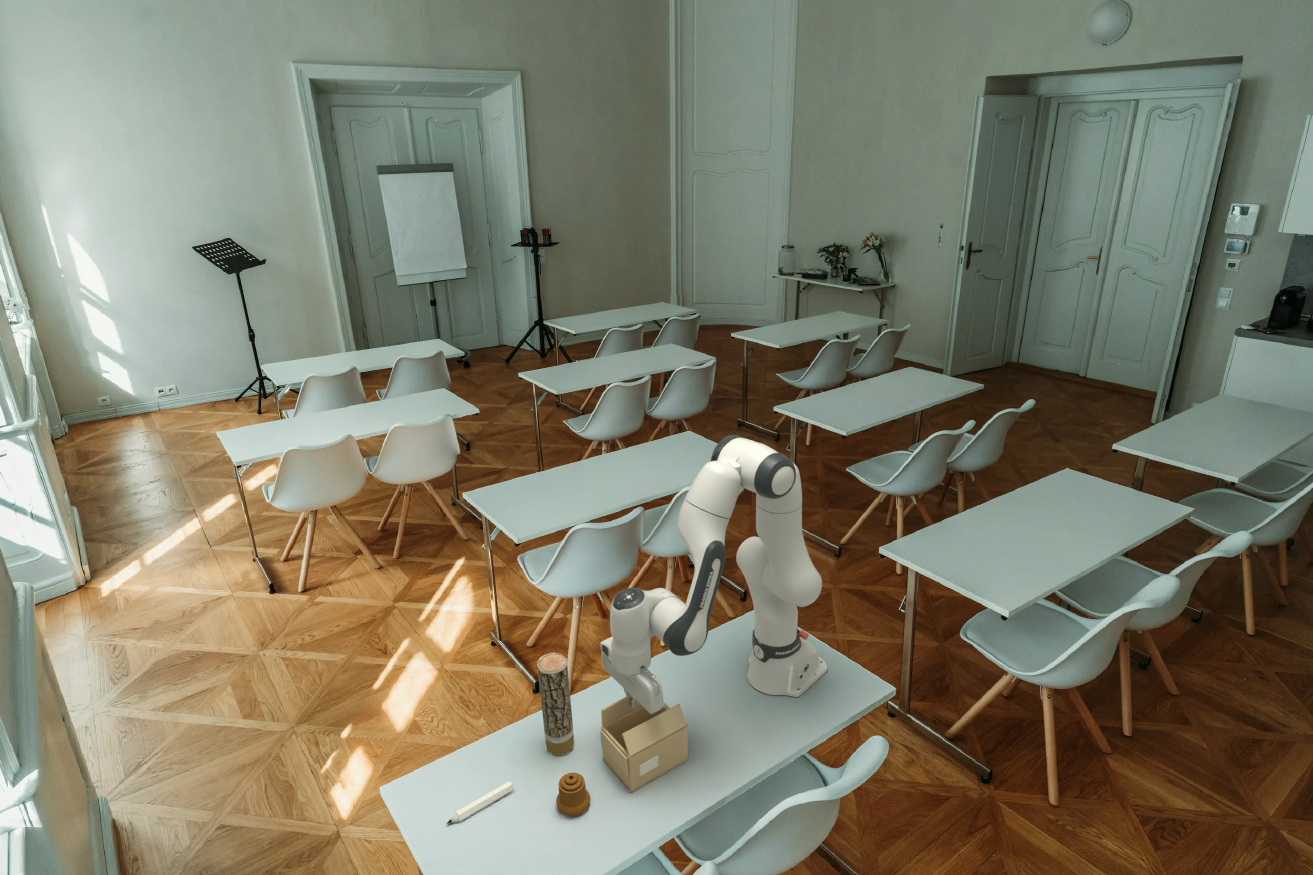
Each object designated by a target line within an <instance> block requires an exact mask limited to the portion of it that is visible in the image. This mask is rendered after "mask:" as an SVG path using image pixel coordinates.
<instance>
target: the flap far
mask: <svg viewBox="0 0 1313 875" xmlns="http://www.w3.org/2000/svg"><path fill="white" fill-rule="evenodd" d="M640 707H642V705H639V707H637V708H635V709H634V708H632V706H631V705H630V704H628V703H627V696H625V697H622V698H621V699H619V700H617V701H615V702H612V703H611V704H609V705H607V706H605V707H603V708H601V710H600V712H601V727H602V726H605V725H607V724H609V723H611V722H613V721H615V720H617V719H619V718H621V717H623V716H625V715H627V714H629V713H630V712H632V711H634V710H636V709H638V708H640Z"/></svg>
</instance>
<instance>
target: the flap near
mask: <svg viewBox="0 0 1313 875" xmlns="http://www.w3.org/2000/svg"><path fill="white" fill-rule="evenodd" d="M686 723H687V722H686V719H685V717H684V714H683V710H682V707H681V704H680V703H677V704H676V705H674V706H671V707H670V709H668V710H666V711H664V712H663V713H661V714H659V715H657V716H655V717H653V718H651V719H649V720H647V721H646V722H644V723H642V724H640V725H638V726H636V727H634V728H632V729H630V730H629V731H627V732H625V733H623V734H622V736H623V739H624V742H625V745H626V748H627V751H628V754H629V756H632V755H633V754H635V753H637V752H639V751H641V750H642V749H644V748H646V747H648V746H650V745H651V744H653V743H655V742H657V741H659V740H661V739H662V738H664V737H666V736H668V735H670V734H671V733H673V732H675V731H677V730H679V729H680V728H682V727H684V726H686Z"/></svg>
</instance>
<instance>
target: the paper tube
mask: <svg viewBox="0 0 1313 875" xmlns="http://www.w3.org/2000/svg"><path fill="white" fill-rule="evenodd" d="M536 664H537V674H538V682H539V683H538V684H539V692H540V701H541V702H540V703H541V704H540V705H541V712H542V721H543V729H544V739H545V747H546V750H547V751H548V752H549V753H550V754H552V755H553V756H554V755H555V756H563V755H566V754H568V753H570V752H571V751H572V750H573V748H574V746H575V734H574V725H573V711H572V703H571V702H572V701H571V689H570V688H571V687H570V678H569V668H568V667H569V666H568V660H567V657H566V656H565V655H564V654H562V653H558V652H550V653H546V654H544V655H542V656H541V657H539V658H538V661H537V663H536Z"/></svg>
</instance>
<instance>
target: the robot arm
mask: <svg viewBox="0 0 1313 875" xmlns="http://www.w3.org/2000/svg"><path fill="white" fill-rule="evenodd" d="M800 475H801V474H800V471H799V468H798V466H797V465H796V464H795V462H793V461H792V460H791V459H790V458H789V457H788V456H786V455H785V454H783V453H781V452H778V451H776V450H775V449H774V448H771V447H770V446H768V445H766V444H764V443H761V442H758V441H755V440H751V439H749V438H746V436H744V435H743V436H742V435H737V434H730V435H726V436H725V437H723V438H722V439H721V440H719V442H718V443H717V444H716V446H715V447H714V449H713V451H712V455H711V457H710V461H708V462H706V463H705V464H704V465H703V466H702V467H701V469H700V471H699V472H698V473H697V475H696V476H695V478H694V479H693V482H692V483H691V485H690V487H689V489H688V491H687V493H686V496H685V497H684V500H683V503H682V505H681V507H680V508H679V512H678V515H677V521H676V522H677V529H678V530H677V531H678V533H679V535H680V537H681V539H682V541H683V542H684V543H685V545H686V547H687V549H688V551H689V553H690V555H691V558H692V560H693V561H692V562H693V565H694V572H693V578H692V581H691V585H690V587H689V591H688V594H687V599H686V602H684V601H682V600H681V598H679V597H678V596H677V595H675V593H673V592H671V591H670V590H669V589H667V588H665V587H656V588H653V589H649V590H643V589H641V588H639V587H628V588H624V589H622V590H620V591H619V592H617V593H616V594H615V595H614V597H613V599H612V601H611V603H610V604H611V605H610V613H609V628H610V630H609V631H610V635H611V636H610V637H608V638H606V639H604V640H602V641H600V643H599V646H600V650H601V661H602V662H601V663H602V666H603V669H604V671H605V672H607V673H608V675H609V676H611V677H612V678H613V680H614V681H615V682H617V683H618V684H619V686H621V687H622V688H623V690H624V693H625V697H627V703H628V704H630V705H631V706H632V708H634V709H635V708H637V707H639V705H642V706H643V707H644V708H645V709H646V710H647V711H648V712H649V713H650V714H653V713H655V712H657V711H659V710H660V709H662V708H663V707H664V703H665V700H664V698H665V697H664V691H663V686H662V683H661V681H660V679H658V676H656V675H655V674H654V673H653V672H651V671H650V670H649V667H650V666H651V662H652V656H651V655H652V652H651V649H652V648H651V639H652V638H653V637H656V638H658V639H659V640H660V641H661V642H663V643H664V645H665V647H666V648H667V649H668V650H669V651H670V652H671V653H672V654H673V655H675V656H678V657H682V656H690V655H692V654H695V653H697V652H698V651H699V650H701V648H703V647H704V645H705V643H706V641H707V638H708V635H709V631H710V630H709V628H710V619H711V614H712V612H713V607H714V603H715V600H716V597H717V594H718V590H719V586H720V582H721V580H722V576H723V571H724V568H725V562H726V557H727V551H726V550H727V549H726V547H725V546H726V545H725V540H726V532H727V528H728V525H729V524H728V523H729V522H730V519H731V517H732V514H733V512H734V509H735V506H736V503H737V500H738V497H739V496H740V494H741V493H742V492H743V491H744V490H745V489H746V490H748V491H750V492H753V493H755V494H756V495H755V496H756V498H755V506H756V507H755V530H756V533H757V535H758V536H756V535H755V536H750V537H748V538H746V539H745V540H744V541H743V542H742V543H741V544H740V545H739V547H738V549H737V551H736V558H735V559H736V563H737V566H738V567H739V569H740V571H741V572H742V574H743V576H744V578H745V581H746V584H747V586H748V589H749V590H748V591H749V593H750V596H751V597H750V598H751V599H752V605H753V614H754V615H753V616H754V617H753V618H754V620H753V622H754V628H753V630H752V636H751V639H752V640H751V644H752V647H751V651H750V656H749V657H748V669H747V673H746V678H747V681H748V683H749V684H750V685H751V686H752V687H753V688H754V689H756V691H758V692H760V693H763V694H766V695H772V696H789V697H791V698H792V697H794V698H799V697H801V695H803V694H804V692H806V691H807V690H808V689H809V688H811V687H812V685H814V683H815V682H817V681H818V680H819V679H820V678H821V677H822V676H823V675H824V674H826V673H827V671H828V665H827V663H826V661H825V660H824V659H823V658H822V657H821V656H820V655H819V652H818V649H817V648H816V647H815V645H813V643H811V642H810V641H809V640H808V638H809V637H810V636H809V635H810V634H809V633H808V632H807V631H805V630H804V629H802V630H800V629H799V628H798V617H799V611H798V607H799V608H804V607H807V606H810V605H811V604H813V603H814V602H815V601H817V599H818V598H819V596H820V594H821V593H822V587H823V579H822V576H821V574H820V573H819V572H818V570H817V569H816V567H815V565H814V564H813V562H812V559H811V557H810V554H809V552H808V548H807V546H806V543H805V539H804V533H803V514H802V513H803V509H802V508H803V491H802V490H803V489H802V480H801V476H800Z"/></svg>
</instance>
